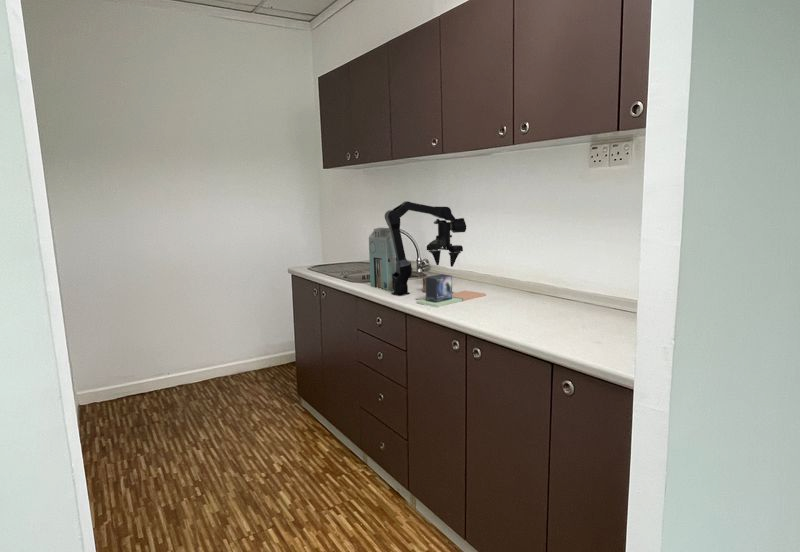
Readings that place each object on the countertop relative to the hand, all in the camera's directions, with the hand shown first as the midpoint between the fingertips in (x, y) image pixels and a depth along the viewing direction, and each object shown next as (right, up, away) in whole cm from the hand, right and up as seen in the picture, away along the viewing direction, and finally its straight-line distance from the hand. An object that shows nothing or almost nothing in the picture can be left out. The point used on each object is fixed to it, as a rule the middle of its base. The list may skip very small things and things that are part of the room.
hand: (444, 265), depth 249 cm
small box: (-4, -15, -26) cm, 30 cm away
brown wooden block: (-3, -13, -4) cm, 14 cm away
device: (-29, -11, +14) cm, 34 cm away
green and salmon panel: (+2, -15, -20) cm, 25 cm away
